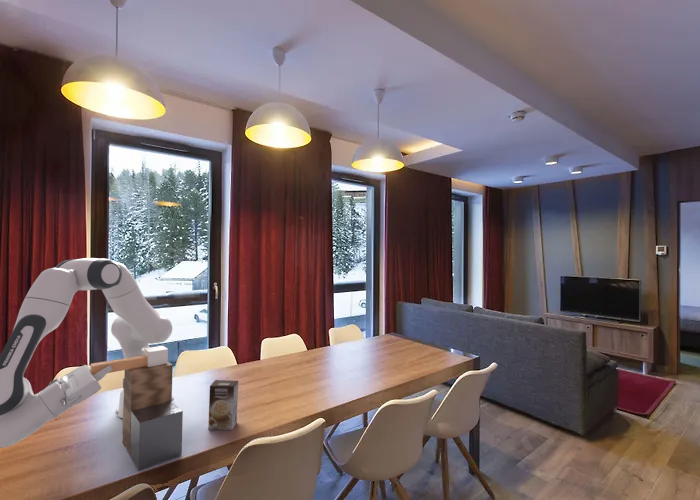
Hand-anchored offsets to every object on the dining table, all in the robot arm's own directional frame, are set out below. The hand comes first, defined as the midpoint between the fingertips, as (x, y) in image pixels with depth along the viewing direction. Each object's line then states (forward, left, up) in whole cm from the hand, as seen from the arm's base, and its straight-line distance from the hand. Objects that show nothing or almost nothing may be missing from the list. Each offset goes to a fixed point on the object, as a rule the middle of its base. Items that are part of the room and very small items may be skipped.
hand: (109, 365), depth 110 cm
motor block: (0, +16, -28) cm, 32 cm away
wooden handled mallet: (-4, +4, -2) cm, 6 cm away
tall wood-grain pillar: (-8, +8, -28) cm, 30 cm away
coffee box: (-20, +29, -28) cm, 46 cm away
